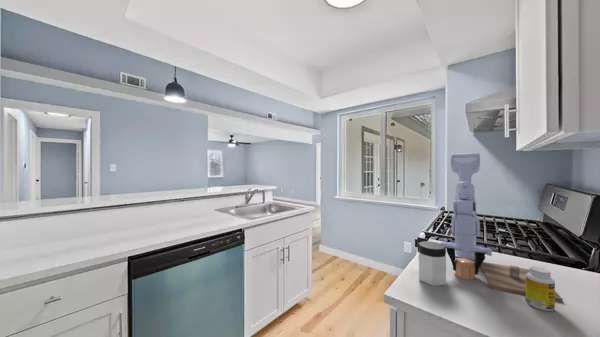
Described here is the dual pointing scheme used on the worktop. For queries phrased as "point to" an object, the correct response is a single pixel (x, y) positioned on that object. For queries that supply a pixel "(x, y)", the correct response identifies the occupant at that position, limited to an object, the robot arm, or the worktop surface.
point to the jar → (432, 263)
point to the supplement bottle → (540, 289)
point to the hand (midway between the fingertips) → (464, 271)
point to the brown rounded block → (465, 268)
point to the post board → (508, 278)
